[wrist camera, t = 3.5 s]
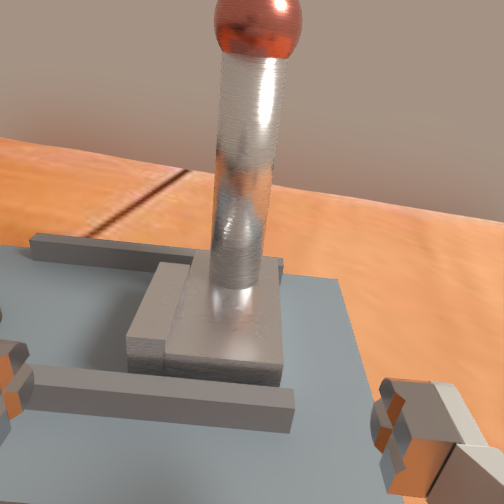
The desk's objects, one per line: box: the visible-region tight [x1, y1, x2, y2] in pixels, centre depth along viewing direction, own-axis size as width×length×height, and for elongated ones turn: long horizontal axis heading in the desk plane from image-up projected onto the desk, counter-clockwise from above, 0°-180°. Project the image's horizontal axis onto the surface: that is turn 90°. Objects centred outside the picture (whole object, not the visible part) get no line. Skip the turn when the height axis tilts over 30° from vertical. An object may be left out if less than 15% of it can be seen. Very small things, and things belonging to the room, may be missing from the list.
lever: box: [126, 0, 302, 387], centre depth 17 cm, size 9×6×16 cm
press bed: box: [0, 233, 404, 504], centre depth 20 cm, size 16×26×5 cm, turn 88°
